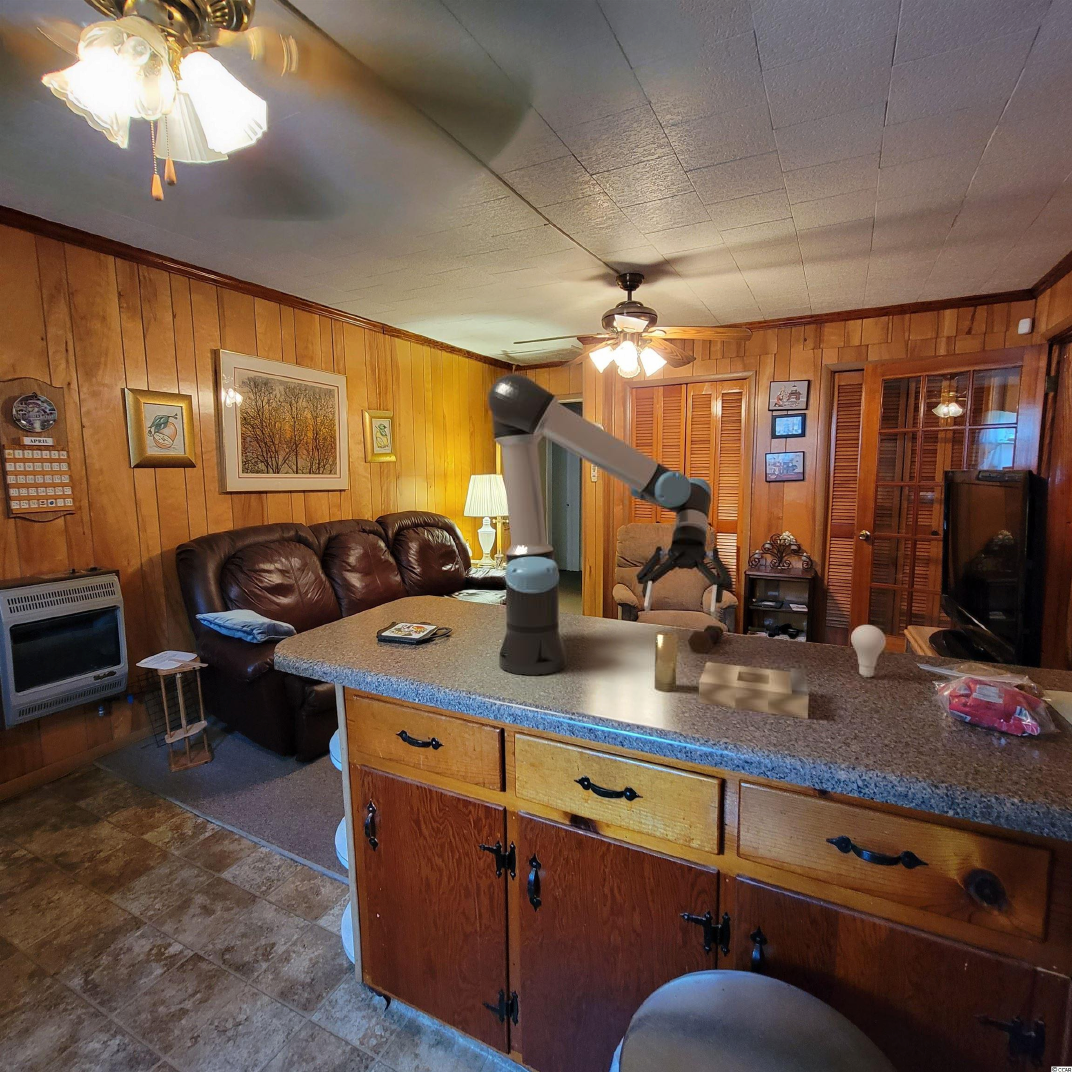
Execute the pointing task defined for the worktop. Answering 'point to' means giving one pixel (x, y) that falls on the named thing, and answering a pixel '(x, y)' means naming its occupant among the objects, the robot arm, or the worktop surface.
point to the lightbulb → (867, 647)
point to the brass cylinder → (665, 661)
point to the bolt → (705, 639)
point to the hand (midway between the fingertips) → (678, 612)
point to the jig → (755, 689)
